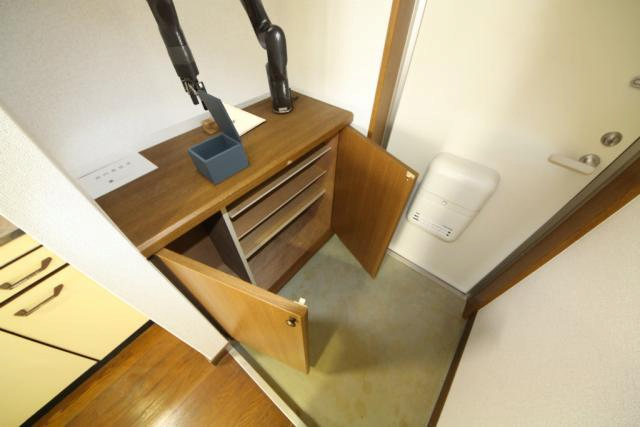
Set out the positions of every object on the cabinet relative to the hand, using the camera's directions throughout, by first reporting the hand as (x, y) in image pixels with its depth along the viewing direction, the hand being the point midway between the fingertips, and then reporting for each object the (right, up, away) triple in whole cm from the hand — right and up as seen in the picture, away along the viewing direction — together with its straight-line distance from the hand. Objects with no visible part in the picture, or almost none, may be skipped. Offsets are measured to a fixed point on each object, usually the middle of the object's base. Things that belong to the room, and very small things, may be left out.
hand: (202, 107), depth 90 cm
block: (0, -7, +8) cm, 11 cm away
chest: (+13, -27, -10) cm, 32 cm away
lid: (+16, -13, -20) cm, 29 cm away
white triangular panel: (+14, -5, +9) cm, 17 cm away
